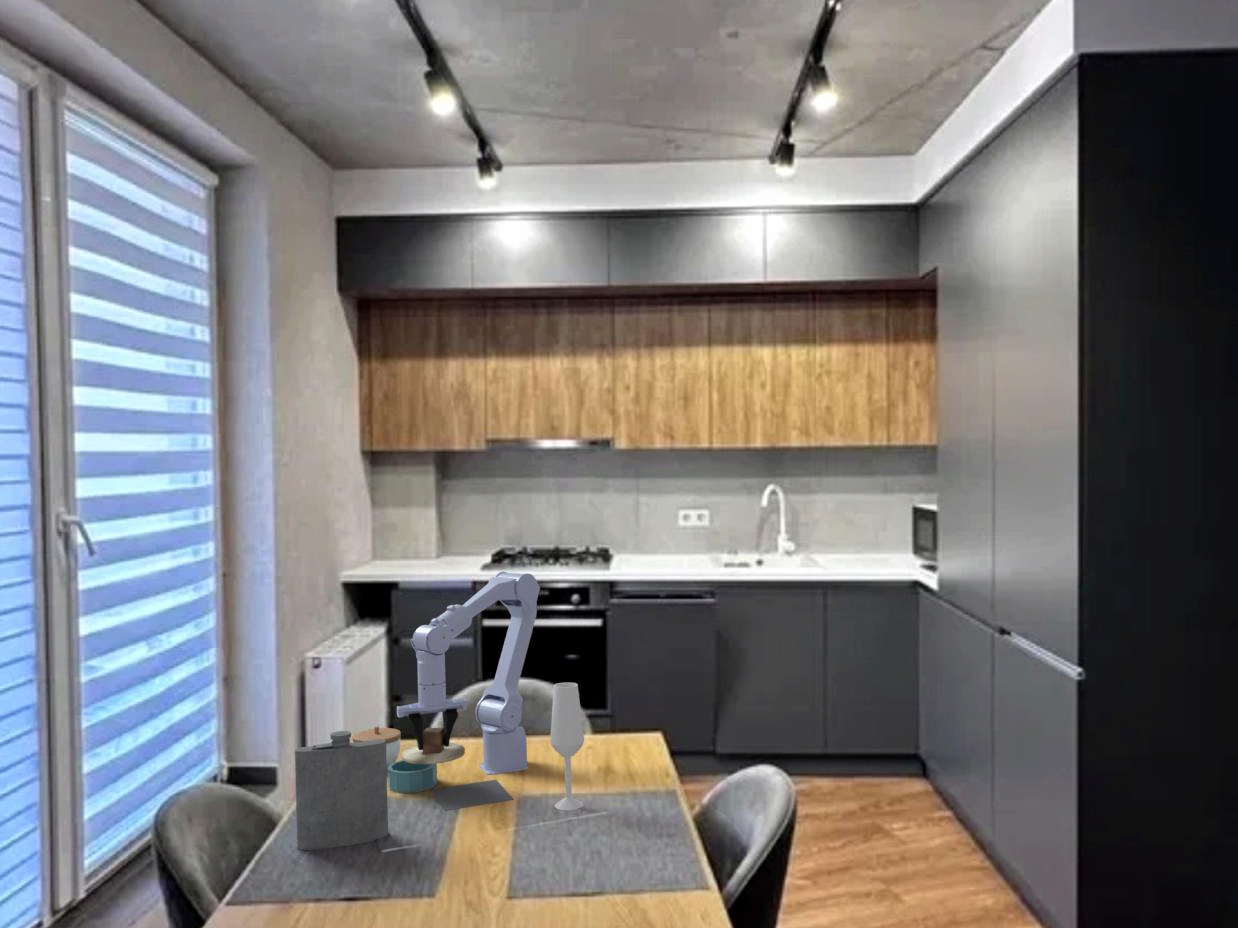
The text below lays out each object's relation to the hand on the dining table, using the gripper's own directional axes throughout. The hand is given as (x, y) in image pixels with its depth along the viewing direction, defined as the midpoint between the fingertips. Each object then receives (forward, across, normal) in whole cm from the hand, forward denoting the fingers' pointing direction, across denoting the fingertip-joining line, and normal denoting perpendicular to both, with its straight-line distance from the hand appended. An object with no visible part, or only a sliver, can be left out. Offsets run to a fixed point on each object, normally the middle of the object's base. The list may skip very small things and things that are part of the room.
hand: (433, 747), depth 200 cm
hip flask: (+9, +21, +21) cm, 31 cm away
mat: (+9, -6, +8) cm, 13 cm away
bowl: (+9, +4, -5) cm, 11 cm away
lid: (+2, 0, 0) cm, 2 cm away
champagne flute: (+9, -22, +22) cm, 33 cm away
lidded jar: (+9, +9, -22) cm, 25 cm away
